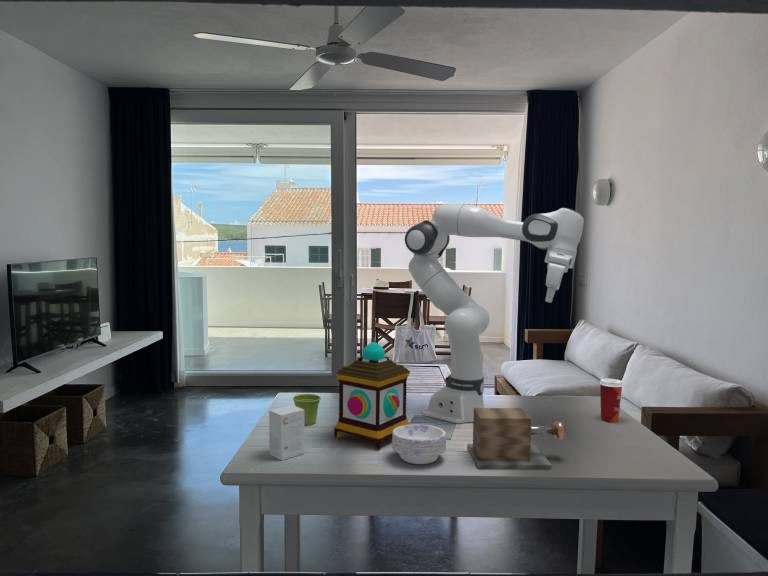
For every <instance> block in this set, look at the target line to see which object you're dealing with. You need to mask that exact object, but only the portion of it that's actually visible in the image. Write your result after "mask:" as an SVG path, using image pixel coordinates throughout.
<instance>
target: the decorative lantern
mask: <svg viewBox="0 0 768 576" xmlns="http://www.w3.org/2000/svg"><path fill="white" fill-rule="evenodd" d="M410 373H411V371H410V370H409V369H408V368H407V367H405V366H404V365H403V364H399V363H398V364H397V363H396V362H394V361H393V360H392V359H390V357H389V356H386V355H385V349H384V348H383V347H382V346H381V345H380V343H378V342H374V341H373V342H370V343H368V344H367V345H366V346H365V347H364V348H363V350H362V356H359V357H357V360H355V361H354V362H353V363H350V364H348V365H345V366H343V367H342V368H340V369H339V370H338V371H337V372H336V373H335V374H336V375H335V376H336V378H337V379H338V383H339V385H338V387H339V389H338V392H339V393H338V396H339V397H338V420H337V422H336V425H335V427H334V431H333V433H334V438H335V439H338V438H339V439H340V438H341V433H345V434H349V435H353V436H357V437H360V438H365V439H367V440H372V441H374V443H375V448H376V450H377V451H379V450H380V449H381V448H382V447H381V446H382V443H383V441H384V440H386V439H387V438H390V437H392V432H393V430H394V429H395V428H397V427H399V426H403V425H410V422H409V420H408V418H407V380H408V377H409V376H410ZM339 439H338V440H339Z"/></svg>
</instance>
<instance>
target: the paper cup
mask: <svg viewBox="0 0 768 576" xmlns="http://www.w3.org/2000/svg"><path fill="white" fill-rule="evenodd" d="M599 385H600V387H599V389H600V391H599V393H600V419H601V421H603V422H607V423H618V422H619V419H620V410H621V409H620V408H621V399H622V390H623V386H624V384H623V381H622V380H620V379H615V378H609V377H608V378H607V377H606V378H601V379H600V382H599Z"/></svg>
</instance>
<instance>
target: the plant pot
mask: <svg viewBox="0 0 768 576" xmlns="http://www.w3.org/2000/svg"><path fill="white" fill-rule="evenodd" d="M321 399H322V396H320V395H318V394H312V393H301V394H297V395H294V396H293V397H292V400H293V402H294V403H293V404H294V406H296V407H299V408H301V409H304V426H311V425H314V424H316V422H317V415H318V409H319V404H320V401H321Z"/></svg>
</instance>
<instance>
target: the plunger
mask: <svg viewBox="0 0 768 576" xmlns="http://www.w3.org/2000/svg"><path fill="white" fill-rule="evenodd" d="M541 435H542V436H543V435H544V436H553V438H554V440H557V441H558V440H562V441H564V440H565V438H566V425H565V423H564V422H563V421H557V420H556V421H553V423H552V425H531V436H541Z"/></svg>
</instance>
